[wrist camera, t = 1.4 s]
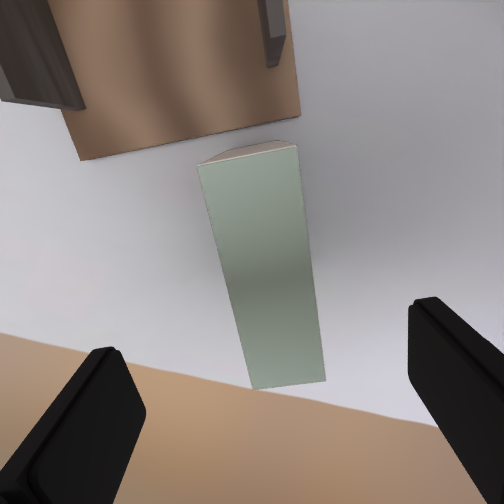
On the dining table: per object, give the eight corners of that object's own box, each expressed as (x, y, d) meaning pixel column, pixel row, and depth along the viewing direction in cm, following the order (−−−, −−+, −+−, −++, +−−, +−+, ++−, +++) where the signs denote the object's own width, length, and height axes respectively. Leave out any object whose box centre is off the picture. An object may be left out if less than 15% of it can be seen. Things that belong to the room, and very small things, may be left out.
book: (277, 140, 24) (298, 145, 11) (296, 269, 29) (327, 380, 16) (229, 149, 25) (195, 165, 12) (255, 275, 29) (251, 390, 16)
